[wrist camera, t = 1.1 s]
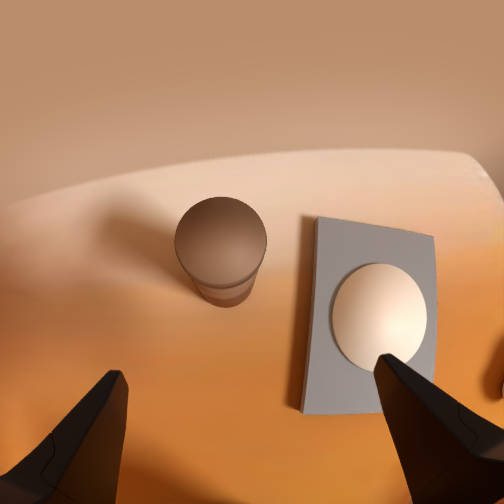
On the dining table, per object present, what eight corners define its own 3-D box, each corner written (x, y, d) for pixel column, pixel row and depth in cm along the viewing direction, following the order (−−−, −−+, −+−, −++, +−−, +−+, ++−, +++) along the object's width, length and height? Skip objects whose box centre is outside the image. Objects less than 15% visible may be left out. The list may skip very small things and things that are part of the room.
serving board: (422, 404, 21) (431, 406, 20) (299, 411, 21) (304, 415, 20) (427, 240, 26) (435, 235, 25) (314, 221, 26) (319, 215, 24)
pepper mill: (250, 311, 23) (262, 289, 14) (193, 304, 23) (166, 277, 14) (256, 256, 25) (271, 201, 15) (201, 250, 24) (183, 191, 15)
